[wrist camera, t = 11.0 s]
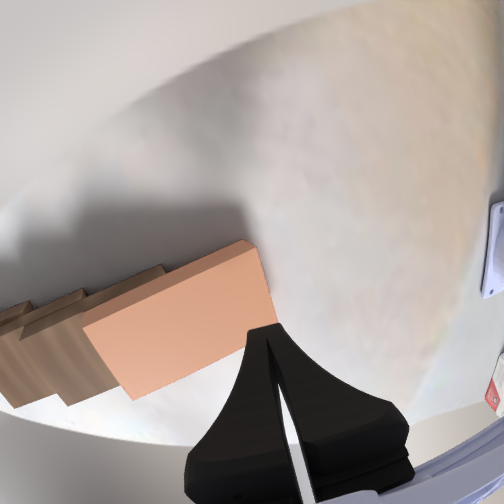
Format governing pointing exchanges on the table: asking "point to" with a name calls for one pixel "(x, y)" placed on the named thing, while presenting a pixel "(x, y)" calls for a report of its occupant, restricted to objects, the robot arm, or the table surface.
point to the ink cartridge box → (497, 388)
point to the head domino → (182, 319)
